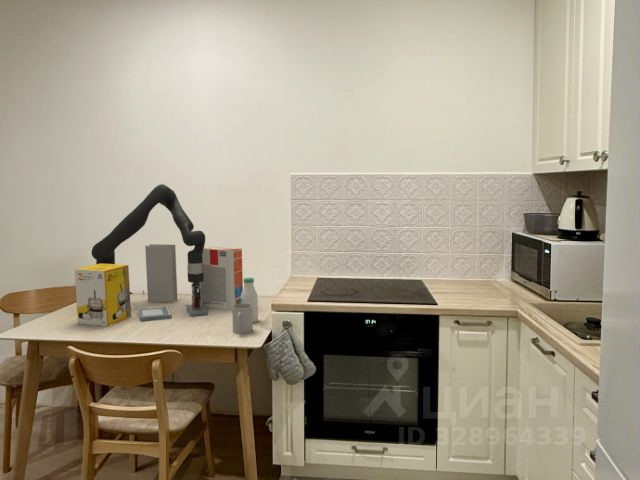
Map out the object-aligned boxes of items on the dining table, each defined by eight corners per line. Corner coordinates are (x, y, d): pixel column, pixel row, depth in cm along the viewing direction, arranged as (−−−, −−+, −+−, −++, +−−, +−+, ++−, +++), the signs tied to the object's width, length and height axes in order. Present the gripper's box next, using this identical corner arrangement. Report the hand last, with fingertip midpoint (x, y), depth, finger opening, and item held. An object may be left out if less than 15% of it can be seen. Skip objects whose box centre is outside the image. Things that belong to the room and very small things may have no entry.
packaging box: (131, 316, 245) (128, 265, 242) (107, 326, 229) (104, 271, 226) (102, 314, 250) (100, 263, 246) (77, 323, 234) (74, 269, 231)
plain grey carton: (177, 299, 278) (175, 244, 275) (173, 302, 273) (171, 246, 269) (152, 299, 280) (149, 244, 276) (147, 301, 274) (145, 245, 271)
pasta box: (243, 306, 263) (241, 248, 259) (235, 310, 256) (233, 250, 252) (204, 302, 271) (203, 246, 268) (196, 306, 264) (193, 248, 260)
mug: (235, 327, 227) (234, 303, 225) (254, 328, 226) (254, 303, 225) (228, 336, 215) (227, 310, 213) (248, 336, 214) (248, 310, 213)
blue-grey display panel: (140, 321, 236) (139, 317, 236) (138, 313, 251) (138, 309, 251) (171, 318, 241) (171, 314, 241) (168, 310, 256) (168, 306, 256)
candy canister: (260, 319, 239) (260, 277, 237) (253, 324, 232) (252, 280, 229) (245, 318, 242) (245, 276, 239) (238, 322, 234) (237, 279, 232)
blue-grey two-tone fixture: (190, 316, 245) (190, 300, 244) (186, 308, 259) (186, 293, 258) (207, 314, 247) (207, 299, 247) (202, 306, 262) (202, 292, 261)
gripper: (185, 269, 256) (187, 303, 258) (189, 274, 243) (190, 310, 245) (201, 268, 259) (202, 302, 261) (205, 273, 246) (206, 308, 248)
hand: (196, 305), depth 253 cm, fingers closed on blue-grey two-tone fixture, 4 cm apart
